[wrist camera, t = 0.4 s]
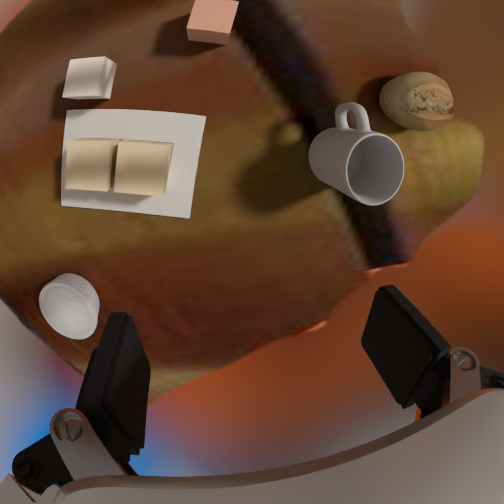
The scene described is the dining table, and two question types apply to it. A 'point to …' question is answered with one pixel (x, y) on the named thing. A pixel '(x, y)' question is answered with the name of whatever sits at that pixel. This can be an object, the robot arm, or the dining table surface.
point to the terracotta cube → (211, 21)
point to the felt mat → (139, 128)
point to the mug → (357, 158)
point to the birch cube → (89, 78)
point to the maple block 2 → (143, 167)
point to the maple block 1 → (91, 163)
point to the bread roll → (417, 101)
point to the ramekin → (70, 306)
